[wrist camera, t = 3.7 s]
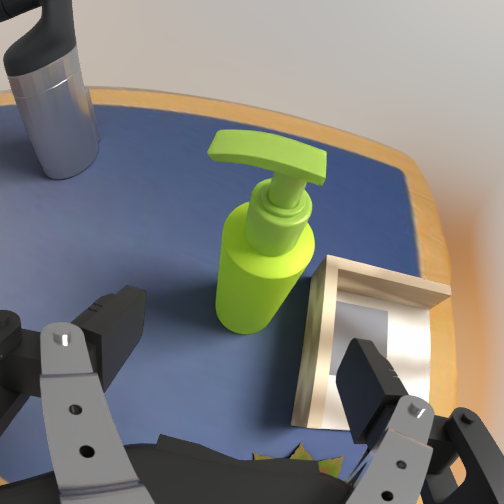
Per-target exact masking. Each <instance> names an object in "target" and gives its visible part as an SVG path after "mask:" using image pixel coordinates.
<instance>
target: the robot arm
mask: <svg viewBox="0 0 504 504" xmlns="http://www.w3.org/2000/svg"><path fill="white" fill-rule="evenodd" d="M40 6H42V16H41V19H40V20H39V21H38V22H37V24H36V25H35V26H34V27H33V28H32V29H31V30H30V31H29V32H27V33H26V34H25V35H24V36H22V37H21V38H20V39H19V40H17V41H16V42H15V43H14V44H13V45H12V46H10V48H9V49H8V50H7V51H6V53H5V54H4V58H3V62H4V66H5V70H6V73H7V76H8V79H9V83H10V86H11V89H12V92H13V95H14V98H15V101H16V104H17V107H18V110H19V112H20V115H21V118H22V121H23V123H24V126H25V128H26V131H27V133H28V136H29V138H30V141H31V143H32V146H33V148H34V150H35V153H36V155H37V157H38V159H39V162H40V164H41V166H42V168H43V170H44V172H45V174H46V175H47V176H48V177H49V178H52V179H66V178H69V177H72V176H74V175H77V174H78V173H80V172H82V171H83V170H85V169H86V168H87V167H88V166H89V165H90V164H91V163H92V162H93V161H94V159H95V158H96V156H97V153H98V142H99V141H100V136H99V132H98V128H97V123H96V119H95V115H94V110H93V106H92V101H91V96H90V91H89V89H88V88H84V84H83V79H82V74H81V69H80V63H79V58H78V51H77V45H76V37H75V30H74V21H73V10H72V0H0V22H3V21H6V20H8V19H11V18H13V17H15V16H18V15H20V14H22V13H25V12H27V11H29V10H32V9H35V8H37V7H40ZM145 304H146V291H145V290H142V289H139V288H135V287H132V286H128V285H127V286H125V287H124V288H123V289H122V290H121V291H119V292H118V293H117V294H116V295H115V294H109V295H106V296H103V297H100V298H99V299H98V300H97V301H96V302H94V304H92V305H91V306H90V307H88V309H86V310H85V311H84V312H83V313H81V314H80V315H79V316H78V317H77V318H76V319H75V320H73V321H72V322H71V323H66V322H56V323H51V324H49V325H47V326H45V327H44V328H43V329H42V331H41V332H35V331H31V330H26V329H22V328H21V321H20V318H19V316H18V315H17V314H16V313H14V312H12V311H8V310H0V437H1V435H2V434H3V432H4V431H5V430H6V428H7V427H8V425H9V424H10V423H11V421H12V420H13V418H14V417H15V416H16V414H17V413H18V412H19V410H20V409H21V408H22V406H23V405H24V404H25V402H26V401H27V400H28V399H29V397H30V396H31V395H32V396H36V397H40V398H42V407H43V414H44V422H45V428H46V434H47V440H48V445H49V450H50V455H51V459H52V464H53V468H54V471H50V472H47V473H44V474H41V475H38V476H34V477H31V478H28V479H24V480H20V481H17V482H13V483H9V484H5V485H1V486H0V504H416V503H417V500H418V497H419V494H421V497H422V501H423V504H504V456H503V454H502V452H501V451H500V449H499V447H498V446H497V444H496V442H495V441H494V439H493V438H492V436H491V435H490V433H489V432H488V430H487V428H486V427H485V425H484V424H483V422H482V421H481V419H480V418H479V417H478V415H477V414H475V413H474V412H472V411H471V410H469V409H466V408H462V407H459V408H456V409H454V411H453V412H452V414H451V415H450V416H449V418H446V417H441V416H437V415H434V410H433V408H432V406H431V405H430V404H429V403H428V402H427V401H425V400H424V399H422V398H420V397H417V396H413V395H409V393H408V392H407V390H406V388H405V387H404V385H403V383H402V382H401V380H400V378H399V377H398V375H397V373H396V372H395V371H394V368H393V367H392V365H391V363H390V362H389V361H388V360H387V359H386V358H385V357H384V356H382V355H381V354H380V353H379V351H378V350H377V348H376V346H375V345H374V343H373V342H372V341H371V340H365V339H359V338H353V339H352V340H351V341H350V343H349V345H348V348H347V350H346V352H345V355H344V357H343V359H342V361H341V363H340V366H339V368H338V370H337V374H336V387H337V390H338V393H339V396H340V399H341V402H342V406H343V409H344V412H345V415H346V419H347V422H348V425H349V428H350V432H351V435H352V438H353V442H354V444H367V445H368V447H367V449H366V450H365V451H364V453H363V454H362V456H361V457H360V459H359V461H358V462H357V464H356V465H355V467H354V468H353V470H352V471H351V473H350V474H349V476H348V477H347V479H346V480H345V482H344V481H342V480H341V479H339V478H337V477H334V476H332V475H329V474H326V473H323V472H320V470H319V464H318V461H314V460H299V459H287V458H275V459H262V460H237V459H234V458H232V457H229V456H227V455H224V454H221V453H219V452H217V451H214V450H212V449H209V448H207V447H205V446H202V445H200V444H196V443H192V442H188V441H184V440H180V439H176V438H173V437H169V436H166V435H162V434H160V435H159V438H158V441H157V444H144V443H140V444H129V445H123V444H122V442H121V439H120V437H119V434H118V432H117V429H116V427H115V424H114V421H113V419H112V416H111V413H110V411H109V408H108V405H107V402H106V399H105V396H104V393H105V391H106V390H107V388H108V387H109V385H110V384H111V382H112V381H113V379H114V378H115V376H116V375H117V373H118V372H119V370H120V369H121V367H122V366H123V364H124V363H125V361H126V360H127V358H128V357H129V355H130V354H131V352H132V351H133V350H134V348H135V347H136V345H137V344H138V342H139V340H140V338H141V335H142V332H143V326H144V315H145ZM459 456H460V458H461V460H462V462H463V464H464V466H465V469H466V478H465V481H464V482H463V483H462V484H461V485H460V486H459V487H458V485H457V483H456V481H455V478H454V476H453V474H452V472H451V469H450V466H451V465H452V464H453V463H454V462H455V460H456V459H457V458H458V457H459Z"/></svg>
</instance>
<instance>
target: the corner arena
mask: <svg viewBox="0 0 504 504" xmlns="http://www.w3.org/2000/svg"><path fill="white" fill-rule="evenodd" d="M450 296H451V287H450V286H448V285H445V284H441V283H437V282H433V281H429V280H426V279H422V278H418V277H414V276H410V275H406V274H402V273H398V272H395V271H391V270H387V269H383V268H379V267H375V266H371V265H367V264H363V263H359V262H355V261H351V260H347V259H343V258H339V257H335V256H331V255H326V257H325V258H324V260H323V261H322V263H321V264H320V265H319V267H318V268H317V270H316V271H315V272H314V274H313V275H312V276H311V284H310V294H309V303H308V311H307V319H306V327H305V335H304V343H303V350H302V357H301V364H300V371H299V377H298V384H297V390H296V396H295V402H294V408H293V414H292V419H291V425H292V426H299V427H306V428H317V429H321V428H323V429H338V430H350V428H349V425H348V422H347V419H346V415H345V412H344V409H343V406H342V402H341V399H340V396H339V393H338V390H337V387H336V374H337V370H338V368H339V366H340V363H341V361H342V359H343V357H344V355H345V352H346V350H347V348H348V345H349V343H350V341H351V340H352V339H353V338H359V339H365V340H371V341H372V342H373V343H374V345H375V346H376V348H377V350H378V351H379V353H380V354H381V355H382V356H384V357H385V358H386V359H387V360H388V361H389V362H390V363H391V365H392V367H393V368H394V371H395V372H396V373H397V375H398V377H399V378H400V380H401V382H402V383H403V385H404V387H405V388H406V390H407V392H408V393H409V395H413V396H417V397H420V398H422V399H424V400H425V401H427V402H429V385H430V318H429V309H431V308H432V307H434V306H436V305H437V304H439V303H440V302H442V301H444V300H445V299H447V298H448V297H450Z"/></svg>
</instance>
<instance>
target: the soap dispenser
mask: <svg viewBox="0 0 504 504" xmlns="http://www.w3.org/2000/svg"><path fill="white" fill-rule="evenodd" d="M207 154H208V156H209V157H210V158H211V159H213V160H214V161H216V162H230V163H239V164H246V165H251V166H256V167H260V168H264V169H267V170H271V171H274V173H273V177H272V178H270V179H266V180H263V181H261V182H260V183H258V184H257V185H256V186H255V188H254V189H253V191H252V193H251V197H250V202H247V203H244V204H242V205H240V206H239V207H237V208H236V209H234V210H233V211H232V212H231V213H230V215H229V216H228V218H227V219H226V221H225V224H224V227H223V234H222V243H221V253H220V262H219V272H218V282H217V293H216V304H215V308H216V313H217V316H218V318H219V320H220V321H221V323H222V324H223V325H224V326H225V327H226V328H227V329H229V330H231V331H233V332H235V333H238V334H253V333H256V332H259V331H261V330H262V329H264V328H265V327H266V326H267V325H268V324H269V322H270V321H271V319H272V318H273V316H274V315H275V313H276V312H277V310H278V309H279V307H280V306H281V304H282V303H283V302H284V300H285V299H286V297H287V296H288V294H289V292H290V291H291V289H292V288H293V286H294V285H295V283H296V282H297V280H298V279H299V277H300V276H301V274H302V273H303V271H304V270H305V268H306V266H307V265H308V263H309V262H310V260H311V258H312V256H313V252H314V246H315V242H314V236H313V232H312V230H311V227H310V226H309V224H308V222H307V221H308V219H309V217H310V215H311V212H312V202H311V199H310V197H309V195H308V193H307V192H306V191H305V190H304V189H305V186H306V184H307V181H308V182H311V183H314V184H317V185H320V186H322V185H323V183H324V180H325V178H326V151H323V150H320V149H318V148H315V147H312V146H310V145H307V144H304V143H301V142H298V141H295V140H292V139H289V138H285V137H282V136H278V135H274V134H270V133H264V132H258V131H250V130H219V131H217V133H216V135H215V137H214V139H213V141H212V143H211V145H210V148H209V150H208V152H207Z"/></svg>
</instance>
